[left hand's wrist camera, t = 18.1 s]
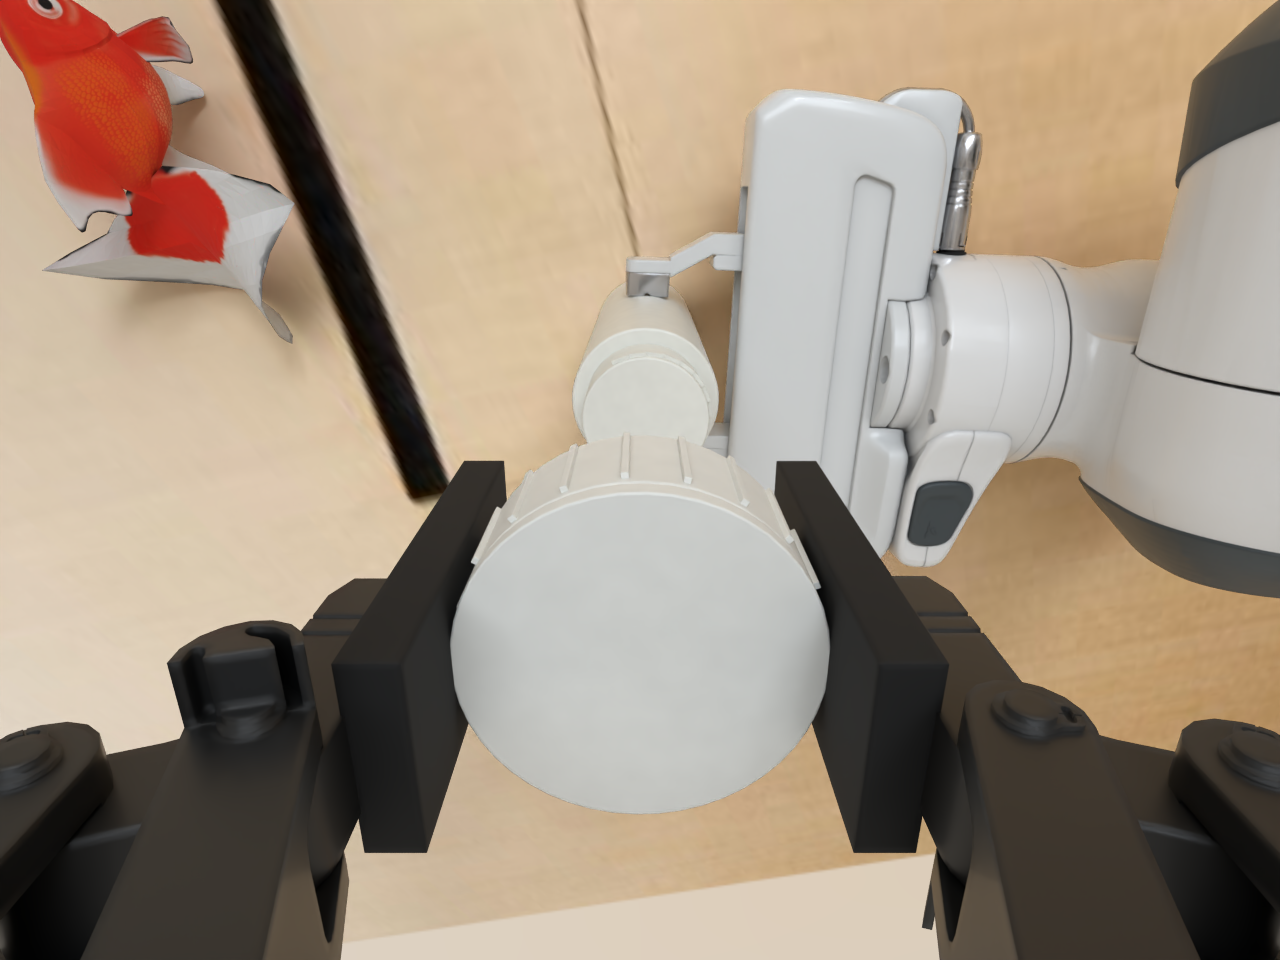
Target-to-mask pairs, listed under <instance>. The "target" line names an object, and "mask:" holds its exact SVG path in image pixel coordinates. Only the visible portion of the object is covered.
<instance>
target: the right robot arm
mask: <svg viewBox="0 0 1280 960" xmlns="http://www.w3.org/2000/svg"><path fill="white" fill-rule="evenodd" d="M960 117H961V119H962V123H963V133H958V130H959V124H960ZM981 155H982V134H981V133H975V124H974V118H973V115H972V112H971V110H970V108H969V106H968V105H967V103H966V102H965V100H964V99H963V98H962V97H961V96H959V95H958V94H956V93H954V92H952V91H950V90H946V89H943V88H916V87H906V88H900V89H897V90H894V91H892V92H890V93H888V94H886V95H885V96H884V97H882V98H881V99H880V100H879V101H874V100H869V99H864V98H860V97H854V96H848V95H843V94H836V93H829V92H821V91H811V90H801V89H782V90H777V91H774V92H772V93H771V94H769V95H768V96H766V97H765V98H764V99H762V100H761V101H760V102H759V103H758V104H757V105H756V106H755V107H754V108H753V110H752V111H751V112H750V113H749V114H748V116H747V118H746V122H745V131H744V144H743V157H742V171H741V185H740V198H739V212H738V226H737V232H709V233H707V234H705V235H703V236H702V237H700V238H698V239H696V240H694V241H693V242H691V243H689V244H687V245H685V246H684V247H682V248H680V249H678V250H676V251H675V252H673V253H671V254H669V258H668V257H637V256H636V257H627V258H626V295H627V296H643V295H645V294H646V293H648V294H649V295H650V296H653V297H668V293H669V277H672V276H674V275H676V274H678V273H680V272H682V271H684V270H685V269H687V268H689V267H691V266H693V265H695V264H697V263H698V262H700V261H702V260H704V259H706V258H708V257H709V263H710V265H711V266H712V267H713V268H714V269H715V270H728V271H734V280H733V294H732V308H731V321H730V335H729V349H728V362H727V376H726V390H725V403H724V417H723V423H720V422H714V425H713V427H712V430H711V431H710V433H709V435H708V437H707V438H706V441H705V443H704V445H703V447H704V448H707V449H710V450H712V451H714V452H716V453H718V454H720V455H721V456H723V457H725V458H727V457H728V456H729V455H730V456H731V457H733V458H735V461H736V464H737V465H738V466H739V467H741V468H742V469H744V470H745V471H746V472H747V473H748V474H750V475H751V476H752V477H753V478H754V479H755V480H756V481H757V482H758V483H759V484H760V485H761V486H762V487H763V488H764V489H765V490H766V489H768V488H770V489H771V490H772V491H773V493H774V490H775V476H776V462H777V461H817V463H818V464H819V466H820V467H821V469H822V471H823V472H824V474H825V475H826V477H827V478H828V480H829V481H830V483H831V484H832V486H833V487H834V489H835V490H836V492H837V493H838V495H839V496H840V498H841V500H842V501H843V503H844V504H845V506H846V507H847V509H848V510H849V512H850V513H851V515H852V516H853V518H854V519H855V521H856V522H857V524H858V525H859V527H860V529H861V530H862V532H863V533H864V535H865V536H866V538H867V539H868V541H869V542H870V544H871V545H872V547H873V548H874V550H875V551H876V553H877V554H878V556H879V557H880V559H881V558H882V557H883V556H884V554H885V553H886V552H887V550H889V551H890V552H891V553H892V554H893V555H894V556H895V557H896V558H897V559H898V560H899V561H900V562H901V563H902V564H905V565H907V566H913V567H931V566H934V565H937V564H938V563H940V562H941V561H942V560H943V559H944V558H945V557H946V555H947V554H948V552H949V550H950V549H951V547H952V545H953V544H954V542H955V540H956V538H957V536H958V534H959V533H960V531H961V529H962V527H963V526H964V524H965V522H966V520H967V519H968V517H969V515H970V513H971V512H972V510H973V508H974V507H975V505H976V503H977V502H978V500H979V498H980V497H981V495H982V494H983V492H984V491H985V489H986V488H987V486H988V485H989V483H990V481H991V480H992V479H993V477H994V476H995V474H996V473H997V472H998V470H999V469H1000V467H1001V466H1002V465H1003V463H1016V462H1021V461H1026V460H1031V459H1037V458H1059V459H1064V460H1067V461H1070V462H1072V463H1074V464H1076V465H1077V466H1078V468H1079V469H1080V472H1081V475H1080V476H1079V480H1080V482H1081V484H1082V485H1083V487H1084V488H1085V490H1086V491H1087V493H1088V494H1089V495H1090V497H1091V498H1092V499H1093V501H1094V502H1095V503H1096V504H1097V505H1098V507H1099V508H1100V509H1101V510H1102V511H1103V512H1104V513H1105V515H1106V516H1107V517H1108V518H1109V519H1110V520H1111V522H1112V523H1113V524H1114V525H1115V526H1116V527H1117V529H1118V530H1119V531H1120V532H1121V533H1122V535H1123V536H1124V537H1125V538H1126V539H1127V540H1128V542H1129V543H1130V544H1131V545H1132V546H1133V547H1134V548H1135V549H1136V550H1137V551H1138V552H1139V553H1141V554H1142V555H1143V556H1144V557H1146V558H1147V559H1148V560H1150V561H1151V562H1153V563H1155V564H1156V565H1158V566H1160V567H1161V568H1163V569H1165V570H1167V571H1169V572H1170V573H1172V574H1174V575H1177V576H1179V577H1181V578H1184V579H1186V580H1189V581H1192V582H1195V583H1198V584H1201V585H1205V586H1209V587H1213V588H1217V589H1222V590H1227V591H1232V592H1237V593H1243V594H1250V595H1257V596H1264V597H1273V598H1280V0H1278V1H1277V2H1275V3H1274V4H1273V5H1272V6H1271V7H1269V8H1268V9H1267V10H1266V11H1264V12H1263V13H1262V14H1261V15H1260V16H1259V17H1257V18H1256V19H1255V20H1254V21H1253V22H1252V23H1250V24H1249V25H1248V26H1247V27H1246V28H1245V29H1244V30H1243V31H1242V32H1241V33H1240V34H1239V35H1237V36H1236V37H1235V38H1234V39H1233V40H1232V41H1231V42H1230V43H1229V44H1228V45H1227V46H1226V47H1225V48H1224V49H1222V50H1221V51H1220V52H1219V53H1218V55H1217V56H1216V57H1215V58H1214V59H1213V60H1212V61H1211V62H1210V63H1209V64H1208V65H1207V66H1206V67H1205V68H1204V69H1203V70H1202V71H1201V72H1200V73H1199V74H1198V75H1197V76H1196V77H1195V78H1194V80H1193V82H1192V86H1191V92H1190V98H1189V104H1188V110H1187V116H1186V122H1185V127H1184V133H1183V139H1182V145H1181V151H1180V157H1179V163H1178V168H1177V174H1176V187H1177V188H1178V192H1177V196H1176V200H1175V204H1174V207H1173V211H1172V215H1171V219H1170V223H1169V226H1168V230H1167V234H1166V238H1165V242H1164V245H1163V249H1162V253H1161V257H1160V260H1151V259H1130V260H1122V261H1117V262H1113V263H1110V264H1106V265H1102V266H1097V267H1077V266H1072V265H1068V264H1066V263H1063V262H1061V261H1058V260H1054V259H1051V258H1048V257H1042V256H1021V255H992V254H966V252H964V251H965V245H966V240H967V233H968V227H969V222H970V216H971V207H972V205H971V203H972V198H971V196H972V192H973V191H972V189H973V185H974V183H973V182H974V179H975V173H976V170H978V168H979V164H980V160H981ZM933 250H936V251H937V252H936V253H933ZM938 250H939V251H938Z"/></svg>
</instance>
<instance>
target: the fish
mask: <svg viewBox="0 0 1280 960" xmlns="http://www.w3.org/2000/svg"><path fill="white" fill-rule="evenodd" d="M0 38H1V41H2V43H3V45H4V46H5V48H6V50H7V52H8V53H9V55H10V56H11V58H12V59H13V61H14V62H15V63H16V65H17V66H18V67H19V69H20V70H21V71H22V72H23V75H24V77H25V79H26V82H27V85H28V87H29V90H30V93H31V96H32V99H33V102H34V104H35V110H34V122H35V133H36V140H37V146H38V152H39V158H40V162H41V166H42V170H43V174H44V178H45V181H46V183H47V185H48V186H49V188H50V190H51V191H52V193H53V195H54V196H55V198H56V200H57V202H58V203H59V205H60V206H61V207H62V209H63V210H64V211H65V213H66V214H67V215H68V217H69V218H70V219H71V221H72V222H73V223H74V224H75V226H76V227H77V228H78V230H80V231H81V232H85V231H86V226H87V223H88V219H89V217H90V216H91V215H92V214H93V213H96V212H107V213H112V214H116V215H117V217H116V218H115V219H114V221H113V223H112V225H111V227H110V229H109V231H108V233H107V234H105V235H103V236H101V237H100V238H98V239H96V240H94V241H92V242H90V243H88V244H86V245H84V246H82V247H81V248H79V249H77V250H75V251H73V252H71V253H69V254H68V255H66V256H65V257H63V258H61V259H60V260H58V261H56V262H55V263H53V264H52V265H50V266H48V267H47V268H45V269H44V270H42V271H49V272H56V273H64V274H71V275H79V276H86V277H94V278H101V279H114V280H136V281H157V282H177V283H193V284H209V285H217V286H223V287H229V288H236V289H242V290H244V291H245V292H246V293H247V294H248V295H249V297H250V298H251V299H252V301H253V302H254V304H255V305H256V306H257V307H258V308H259V310H260V311H261V312H262V313H263V315H264V316H265V317H266V318H267V320H268V321H269V322H270V324H271V325H272V327H273V328H274V330H275V331H276V333H277V334H278V336H280V337H281V338H283V339H284V340H286V341H287V342H289V343H292V337H293V336H292V334H291V332H290V330H289V329H288V327H287V325H286V324H285V322H284V321H283V319H282V318H281V316H280V314H278V313H277V312H276V311H275V310H273V309H272V308H271V307H269V306H268V305H267V304H266V303H264V302H263V301H262V280H263V277H264V273H265V269H266V265H267V262H268V258H269V254H270V252H271V250H272V248H273V246H274V244H275V242H276V240H277V238H278V236H279V234H280V232H281V230H282V228H283V226H284V224H285V222H286V220H287V218H288V215H289V213H290V211H291V209H292V207H293V205H294V203H293V202H292V201H291V200H290V199H288V198H287V197H286V196H284V195H283V194H282V193H281V192H279V191H278V190H277V189H276V188H274V187H273V186H272V185H270V184H267V183H263V182H259V181H255V180H252V179H248V178H244V177H240V176H236V175H232V174H229V173H227V172H225V171H223V170H221V169H219V168H217V167H215V166H213V165H210V164H208V163H205V162H202V161H200V160H197V159H194V158H192V157H190V156H187V155H185V154H183V153H181V152H179V151H178V150H176V149H174V148H173V147H172V146H170V145H169V142H170V139H171V134H172V110H171V104H172V105H179V104H182V103H184V102H187V101H190V100H193V99H198V98H201V97H203V96H204V92H203V90H202V89H201V88H200V87H199V86H197V85H195V84H194V83H192V82H190V81H188V80H186V79H184V78H182V77H179V76H177V75H175V74H174V73H172V72H170V71H168V70H166V69H163V68H161V67H158V66H153V65H151V64H150V63H149V62H167V61H176V62H183V63H189V64H191V63H193V58H192V55H191V51H190V48H189V46H188V44H187V43H186V42H185V41H184V39H183V38H182V37H181V36H180V35H179V33H178V32H177V31H176V29H175V28H174V26H173V24H172V22H171V21H170V19H169V18H168V17H158V18H154V19H149V20H146V21H144V22H142V23H140V24H138V25H136V26H134V27H132V28H129V29H127V30H125V31H123V32H121V33H119V34H117V33H116V32H114V31H113V30H112V29H111V28H110V27H109V25H108V24H107V23H106V22H105V21H103V20H102V19H100V18H99V17H97V16H96V15H94V14H92V13H91V12H89V11H88V10H86V9H85V8H84V7H82V6H81V5H79V4H78V3H76V2H74V1H72V0H0ZM162 165H163V166H162ZM161 166H162V167H161ZM123 189H125V190H127V192H126V194H125V192H124V190H123Z"/></svg>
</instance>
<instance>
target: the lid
mask: <svg viewBox="0 0 1280 960" xmlns="http://www.w3.org/2000/svg"><path fill="white" fill-rule="evenodd" d="M471 563H473V564H475V566H474V568H473V570H472V573H471V575H470V577H469V580H468V582H467V584H466V586H465V589H464V591H463V593H462V595H461V598H460V600H459V602H458V604H457V610H456V613H455V616H454V619H453V625H452V631H451V637H450V648H451V658H452V668H453V677H454V686H455V691H456V694H457V697H458V701H459V704H460V706H461V708H462V710H463V712H464V714H465V717H466V719H467V721H468V723H469V724H470V726H471V727H472V729H473V730H474V732H475V733H476V735H477V736H478V738H479V739H480V741H481V742H482V743H483V744H484V745H485V747H486V748H487V749H488V750H489V751H490V752H491V753H492V755H493V756H494V757H495V758H496V759H497V760H499V761H500V762H501V763H502V764H503V765H504V766H505V767H506V768H508V769H509V770H510V771H511V772H512V773H514V774H515V775H517V776H518V777H520V778H521V779H523V780H524V781H525V782H527V783H528V784H530V785H532V786H534V787H536V788H538V789H539V790H541V791H543V792H545V793H547V794H549V795H551V796H554V797H556V798H559V799H561V800H564V801H566V802H569V803H572V804H576V805H579V806H583V807H586V808H590V809H595V810H601V811H606V812H612V813H625V814H659V813H666V812H674V811H681V810H685V809H690V808H694V807H698V806H702V805H705V804H708V803H711V802H714V801H717V800H720V799H722V798H725V797H727V796H729V795H731V794H733V793H735V792H737V791H739V790H742V789H744V788H745V787H747V786H748V785H750V784H752V783H753V782H755V781H757V780H758V779H760V778H761V777H763V776H764V775H765V774H767V773H768V772H769V771H770V770H772V769H773V768H774V767H775V766H777V765H778V764H779V763H780V762H781V761H782V760H783V759H784V758H785V757H786V756H787V755H788V754H789V753H790V752H791V751H792V750H793V749H794V748H795V746H796V745H797V744H798V742H799V741H800V740H801V738H802V737H803V736H804V734H805V733H806V732H807V730H808V728H809V726H810V725H811V723H812V721H813V719H814V718H815V716H816V714H817V712H818V709H819V707H820V704H821V701H822V699H823V696H824V694H825V689H826V682H827V673H828V664H829V654H830V635H829V627H828V623H827V619H826V615H825V611H824V608H823V605H822V603H821V601H820V598H819V596H818V594H817V591H816V589H819V588H821V586H820V583H819V581H818V579H817V576H816V574H815V572H814V570H813V568H812V566H811V563H810V561H809V559H808V557H807V555H806V552H805V550H804V548H803V546H802V544H801V542H800V539H799V537H798V535H797V533H796V531H795V529H792V530H790V529H789V527H788V525H787V523H786V520H785V518H784V516H783V514H782V511H781V509H780V507H779V505H778V502H777V500H776V498H775V496H774V493H773V491H772V490H771V489H770V488H768V489H766V490H765V489H764V488H763V487H762V486H761V485H760V484H759V483H758V482H757V481H756V480H755V479H754V478H753V477H752V476H751V475H750V474H748V473H747V472H746V471H745V470H744V469H742V468H741V467H739V466H738V465H737V464H736V461H735V458H733V457H731V456H730V455H729V456H728V457H727V458H725V457H723V456H721V455H720V454H718V453H716V452H714V451H712V450H710V449H707V448H704V447H701V446H699V445H696V444H693V443H690V442H687V441H686V440H685V437H681V436H678V439H673V438H668V437H659V436H648V435H638V436H631V434H630V432H626V433H623V436H620V437H614V438H608V439H601V440H598V441H594V442H591V443H588V444H584V445H581V446H578V445H577V444H574V445H571V446H570V449H569V451H567V452H565V453H562V454H560V455H559V456H557V457H555V458H554V459H552V460H550V461H549V462H547V463H545V464H544V465H542V466H541V467H540V468H538V469H537V470H536V471H535V472H533V471H532V470H529V471H528V472H527V473H526V474H525V476H524V479H523V481H522V483H521V484H520V485H519V487H518V488H517V489H516V490H515V491H514V492H513V493H512V494H511V496H510V497H509V499H508V500H507V501H506V503H505V504H504V506H503V507H502V509H501V508H499V507H496V509H495V511H494V513H493V515H492V517H491V519H490V521H489V524H488V526H487V528H486V530H485V532H484V535H483V537H482V539H481V541H480V543H479V545H478V548H477V550H476V552H475V554H474V556H473V558H472V561H471Z"/></svg>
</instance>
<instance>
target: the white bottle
mask: <svg viewBox="0 0 1280 960" xmlns="http://www.w3.org/2000/svg"><path fill="white" fill-rule="evenodd" d="M718 404H719V392H718V385H717V381H716V378H715V374H714V372H713V369H712V367H711V364H710V362H709V359H708V357H707V354H706V352H705V349H704V347H703V344H702V342H701V339H700V337H699V334H698V332H697V329H696V327H695V324H694V322H693V319H692V317H691V314H690V312H689V309H688V307H687V305H686V302H685V301H684V299H683V298H682V296H681V295H680V294H679V293H678V292H677V291H676V290H675V289H674V288H673V287H672V286H670V285H669V293H668V297H653V296H650V295H649V294H648V293H646V294H645V295H643V296H627V295H626V282H625V283H623V284H621V285H620V286H618V287H617V288H615V289H614V290H613V291H612V292H611V293H610V294H609V296H608V297H607V298H606V300H605V302H604V304H603V306H602V308H601V311H600V313H599V316H598V319H597V321H596V324H595V327H594V329H593V332H592V335H591V337H590V340H589V343H588V345H587V348H586V350H585V353H584V356H583V358H582V361H581V364H580V366H579V369H578V372H577V375H576V378H575V381H574V386H573V391H572V405H573V412H574V416H575V420H576V423H577V425H578V428H579V430H580V432H581V433H582V435H583V437H584V438H585V440H586V441H587V444H588V443H591V442H594V441H598V440H601V439H608V438H614V437H620V436H623V433H626V432H630V434H631V436H638V435H648V436H659V437H668V438H673V439H678V436H681V437H685V440H686V441H687V442H690V443H693V444H696V445H699V446H701V447H703V445H704V443H705V441H706V438H707V437H708V435H709V433H710V431H711V430H712V427H713V425H714V422H715V420H716V416H717V412H718Z"/></svg>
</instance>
